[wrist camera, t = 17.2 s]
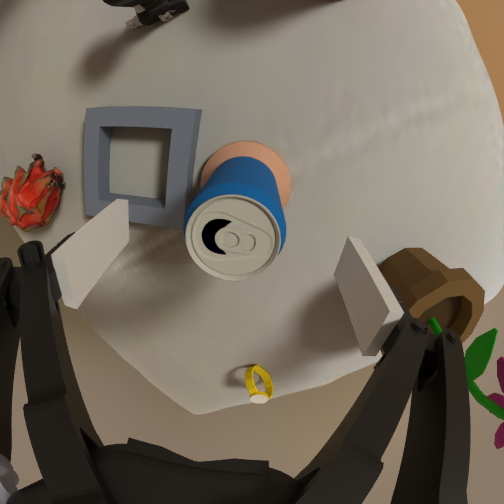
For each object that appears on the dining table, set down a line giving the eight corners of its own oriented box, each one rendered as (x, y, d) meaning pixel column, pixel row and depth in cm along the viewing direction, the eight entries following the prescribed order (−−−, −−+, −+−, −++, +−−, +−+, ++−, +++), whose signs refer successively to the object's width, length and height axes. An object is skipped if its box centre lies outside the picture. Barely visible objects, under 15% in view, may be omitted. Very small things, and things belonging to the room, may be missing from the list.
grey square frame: (98, 107, 23) (86, 108, 20) (201, 109, 23) (196, 109, 21) (96, 207, 28) (85, 215, 26) (188, 220, 29) (182, 230, 27)
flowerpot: (440, 303, 34) (521, 463, 8) (359, 330, 37) (410, 526, 10) (448, 221, 28) (596, 399, 1) (352, 248, 30) (461, 523, 4)
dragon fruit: (27, 193, 29) (85, 161, 29) (26, 247, 27) (85, 221, 28) (-10, 174, 20) (47, 131, 20) (-17, 236, 19) (39, 201, 19)
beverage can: (215, 150, 25) (182, 179, 14) (282, 161, 25) (300, 199, 14) (207, 211, 28) (176, 277, 17) (269, 222, 28) (274, 293, 18)
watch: (242, 363, 41) (238, 392, 36) (256, 357, 40) (254, 386, 35) (263, 381, 43) (261, 409, 37) (277, 376, 42) (276, 405, 37)
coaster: (207, 135, 25) (206, 135, 24) (298, 150, 25) (299, 151, 24) (197, 217, 29) (196, 220, 28) (279, 231, 29) (280, 234, 29)
